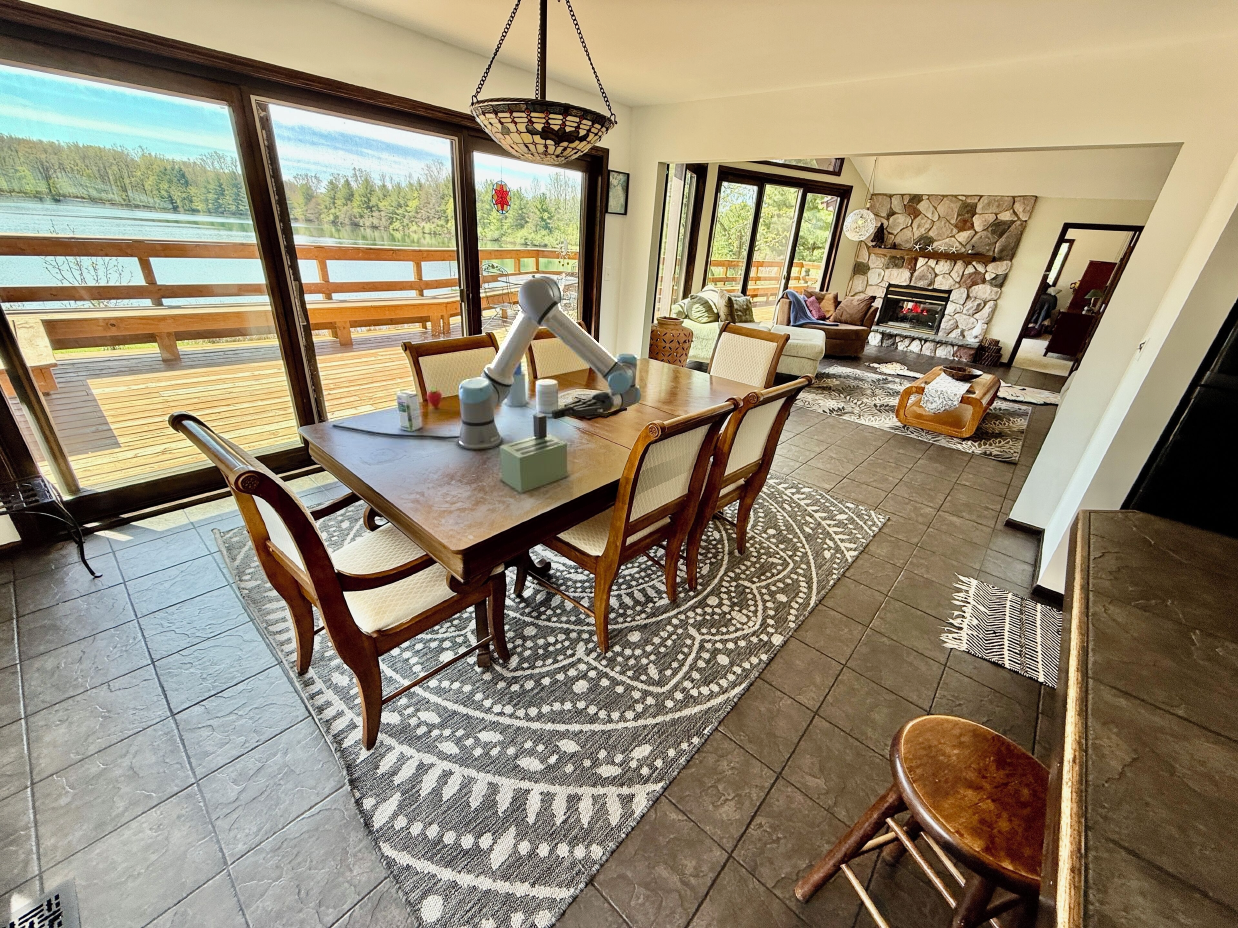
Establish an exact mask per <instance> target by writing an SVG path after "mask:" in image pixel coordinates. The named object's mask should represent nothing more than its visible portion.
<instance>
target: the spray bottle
mask: <svg viewBox="0 0 1238 928" xmlns="http://www.w3.org/2000/svg"><path fill="white" fill-rule="evenodd" d="M513 379H514V382H513V384H512V386H511V391H510V393H509V395H508V397H507V398H506V399H505V400H506V405H507V406H509V407H523V406H525V405H526V404H527V393H526V391H527V390H526V374H525V372H524V371H522V360H521V361H520V363H519V365H518V367H517V368H516V370H515V372H514V374H513Z"/></svg>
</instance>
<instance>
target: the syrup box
mask: <svg viewBox="0 0 1238 928" xmlns="http://www.w3.org/2000/svg"><path fill="white" fill-rule="evenodd" d="M418 395H419V394H418V392H414V391H410V390H409V391H408V390H403V391H399V392H397V393H396V394H395V399H396V406H397V411H398V418H399V419H398V420H399V425H400V426H399V427H400V429H401V430H403V431H409V432H414V431H416V430H418V429H421V428H422V419H421V411H420V403H419V396H418Z"/></svg>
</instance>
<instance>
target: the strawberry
mask: <svg viewBox="0 0 1238 928" xmlns="http://www.w3.org/2000/svg"><path fill="white" fill-rule="evenodd" d="M442 397H443V395H442V393H441V392H440V390H439V389H438V388H436V389H435V388H434V387H433V389H428V393H426V400H427V401H428V403H429V404H430V405H431V406H432V407H433V408H434V409H438V407H439V406H440V404H441V402H442Z"/></svg>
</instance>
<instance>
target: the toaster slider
mask: <svg viewBox="0 0 1238 928" xmlns="http://www.w3.org/2000/svg"><path fill="white" fill-rule="evenodd" d="M532 416H533V417H532V420H533V437H536V438H538V439H542V438H545V437H547V434H548V432H547V431H548V430H547V429H548V428H547V417H546V415H544V414H542V413H539V414H537V413H536V414H533V415H532Z"/></svg>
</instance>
